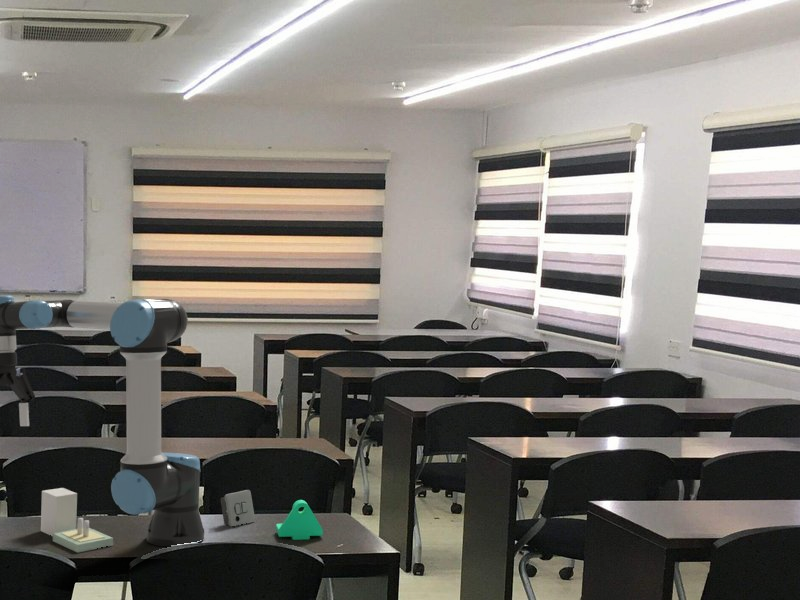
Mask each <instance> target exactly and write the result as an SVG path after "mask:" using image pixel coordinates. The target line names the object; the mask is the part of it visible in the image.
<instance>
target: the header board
mask: <svg viewBox="0 0 800 600" xmlns="http://www.w3.org/2000/svg"><path fill="white" fill-rule="evenodd" d="M52 542H54V543H56V544H58V545H59V546H63V547H65V548H67V549H69V550H70V551H73V552H75V553H83V552H88V551H92V550H97V548H98V549H102V548H101V547H103V548H107V547H106V546H108V547H111V546H114V537H111V536H109V535H107V534H105V533H102V532H101V531H98V530H96V529H94V528H91V527H90V520H88V519H87V520H86V519H85V520H84V517H77V525H76V529H75V530H69V531H64V532H58V533H53V536H52Z"/></svg>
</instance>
